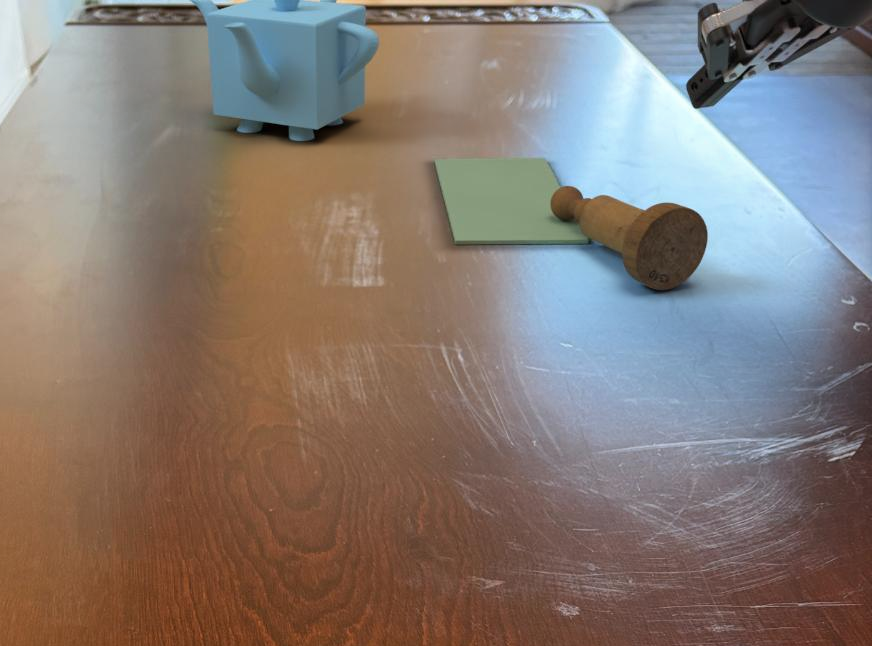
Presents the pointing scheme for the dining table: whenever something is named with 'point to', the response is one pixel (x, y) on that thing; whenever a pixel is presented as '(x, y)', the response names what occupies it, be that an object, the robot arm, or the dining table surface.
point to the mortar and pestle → (640, 234)
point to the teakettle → (288, 62)
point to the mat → (503, 202)
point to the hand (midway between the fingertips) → (697, 96)
